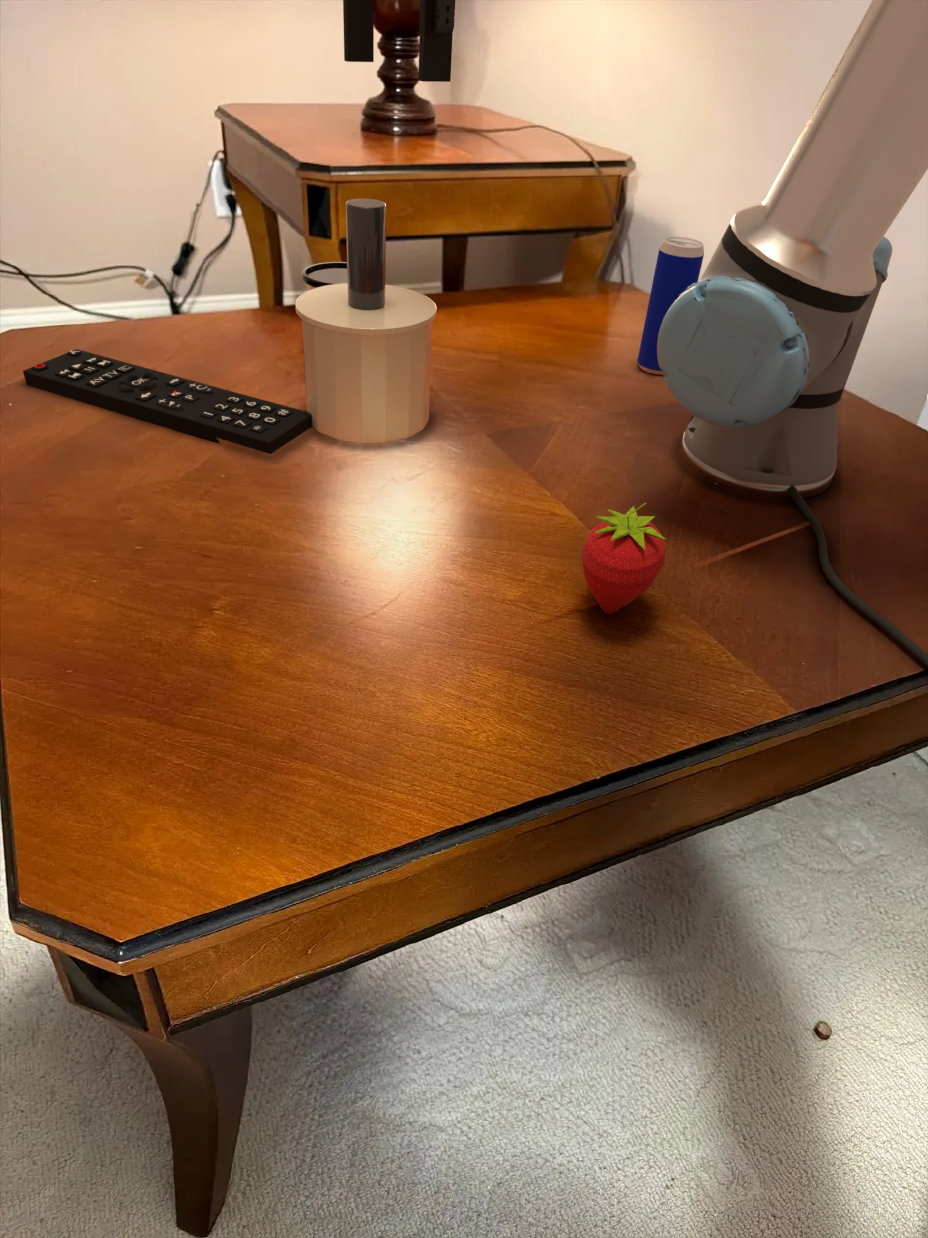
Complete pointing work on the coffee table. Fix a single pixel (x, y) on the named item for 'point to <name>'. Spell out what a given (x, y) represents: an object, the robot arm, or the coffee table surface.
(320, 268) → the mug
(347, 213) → the canister lid
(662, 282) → the beverage can
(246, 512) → the coffee table surface
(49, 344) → the coffee table surface
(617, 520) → the strawberry
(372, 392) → the canister
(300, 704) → the coffee table surface
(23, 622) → the coffee table surface
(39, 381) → the remote control
